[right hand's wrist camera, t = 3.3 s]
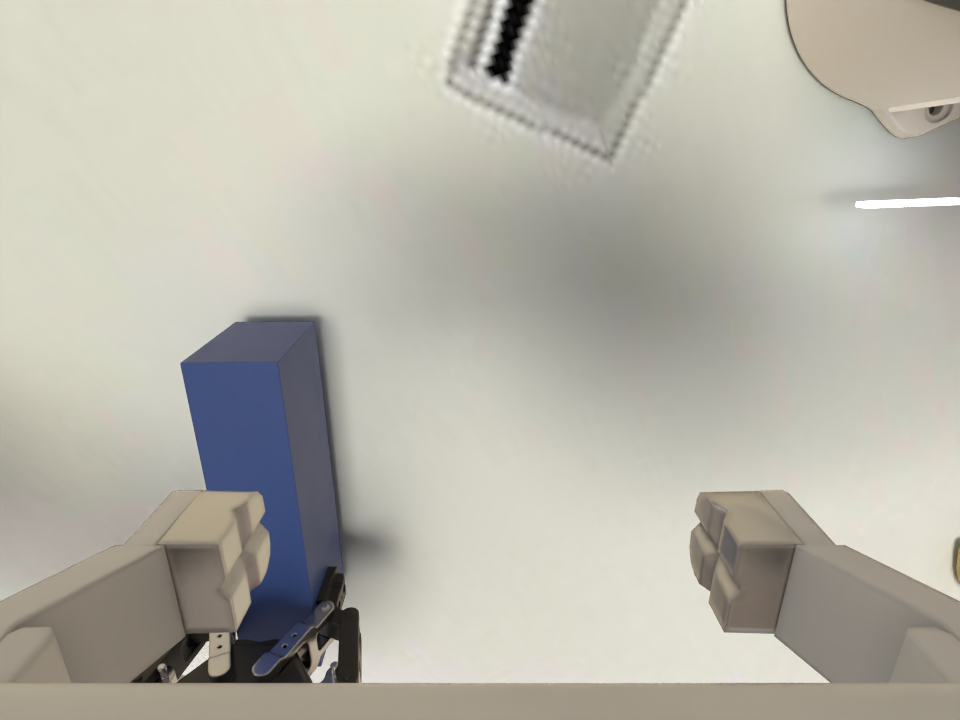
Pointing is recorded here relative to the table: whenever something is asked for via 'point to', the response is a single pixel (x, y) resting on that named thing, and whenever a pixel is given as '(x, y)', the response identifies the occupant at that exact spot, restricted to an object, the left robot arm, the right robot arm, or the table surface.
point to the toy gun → (958, 565)
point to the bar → (270, 457)
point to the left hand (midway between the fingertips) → (294, 576)
